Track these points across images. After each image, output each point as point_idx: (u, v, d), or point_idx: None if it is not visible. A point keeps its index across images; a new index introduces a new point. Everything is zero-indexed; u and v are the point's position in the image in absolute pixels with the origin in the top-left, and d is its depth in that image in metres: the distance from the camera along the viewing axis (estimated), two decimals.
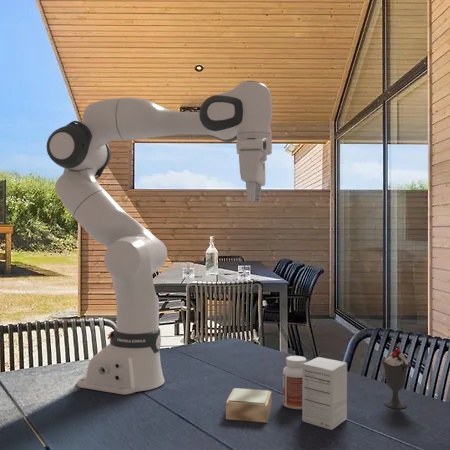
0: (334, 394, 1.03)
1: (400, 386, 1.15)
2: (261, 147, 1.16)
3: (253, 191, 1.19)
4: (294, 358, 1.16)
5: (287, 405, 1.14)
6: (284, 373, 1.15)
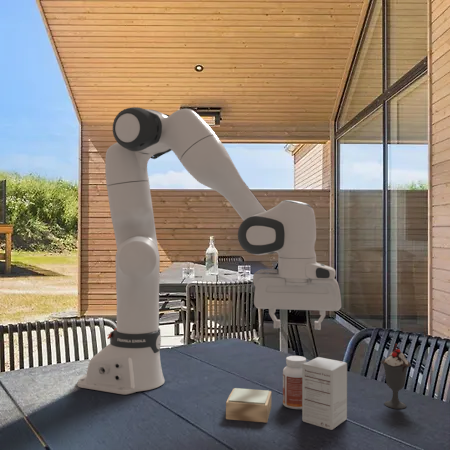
0: (334, 394, 1.03)
1: (400, 386, 1.15)
2: None
3: None
4: (294, 358, 1.16)
5: (287, 405, 1.14)
6: (284, 373, 1.15)
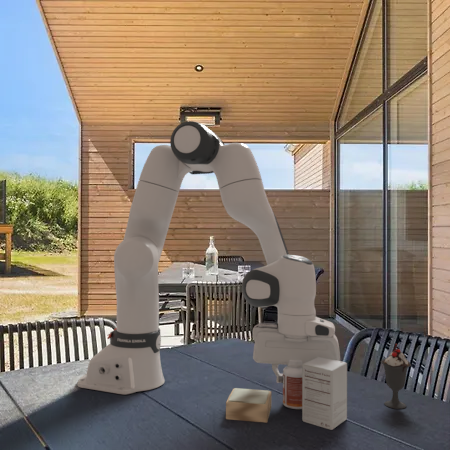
0: (334, 394, 1.03)
1: (400, 386, 1.15)
2: None
3: None
4: None
5: (287, 405, 1.14)
6: (284, 373, 1.15)
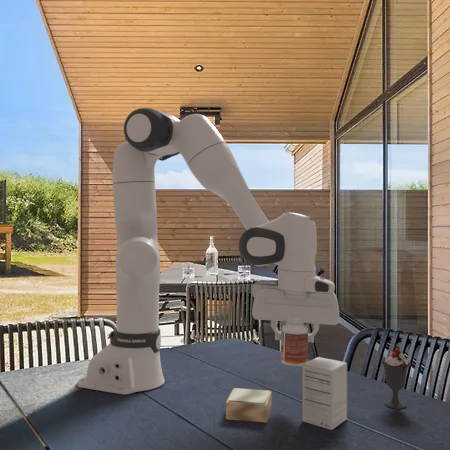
0: (334, 394, 1.03)
1: (400, 386, 1.15)
2: None
3: None
4: None
5: (285, 362, 1.14)
6: (283, 330, 1.15)
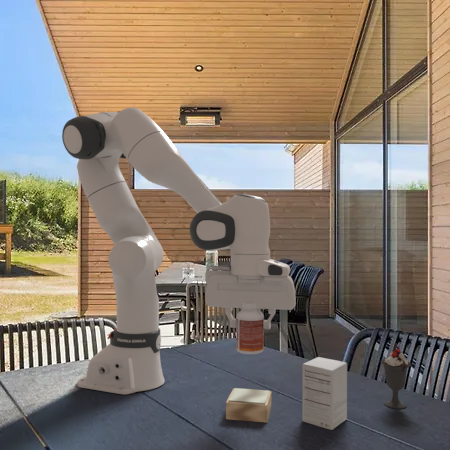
0: (334, 394, 1.03)
1: (400, 386, 1.15)
2: None
3: None
4: None
5: (240, 350, 1.09)
6: (237, 317, 1.10)
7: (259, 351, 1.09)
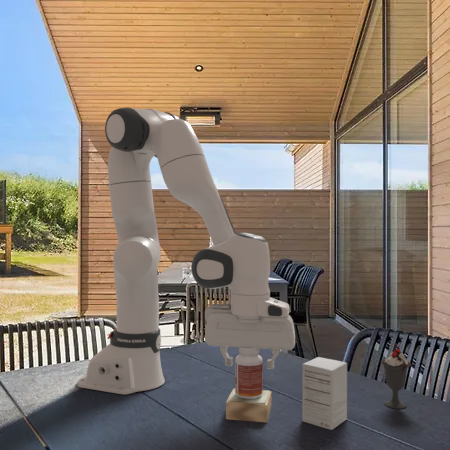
0: (334, 394, 1.03)
1: (400, 386, 1.15)
2: None
3: None
4: None
5: (239, 395, 1.09)
6: (236, 361, 1.10)
7: (258, 396, 1.09)
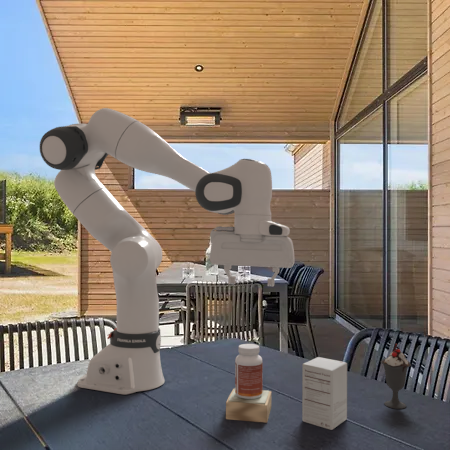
0: (334, 394, 1.03)
1: (400, 386, 1.15)
2: None
3: None
4: (247, 346, 1.11)
5: (239, 395, 1.09)
6: (236, 361, 1.10)
7: (258, 396, 1.09)
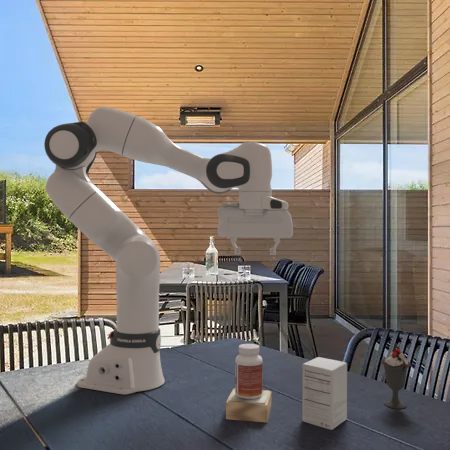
0: (334, 394, 1.03)
1: (400, 386, 1.15)
2: None
3: (276, 246, 1.33)
4: (247, 346, 1.11)
5: (239, 395, 1.09)
6: (236, 361, 1.10)
7: (258, 396, 1.09)
